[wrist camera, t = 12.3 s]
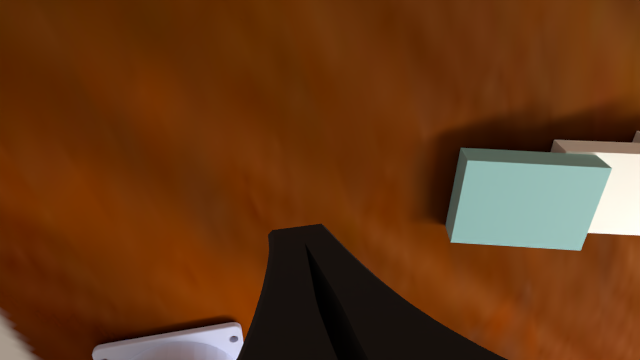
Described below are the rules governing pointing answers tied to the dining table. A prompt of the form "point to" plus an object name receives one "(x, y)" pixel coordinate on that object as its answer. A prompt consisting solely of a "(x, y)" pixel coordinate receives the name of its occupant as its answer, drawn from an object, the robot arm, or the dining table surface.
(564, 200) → the domino teal
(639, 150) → the domino
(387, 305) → the robot arm
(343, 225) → the dining table surface
